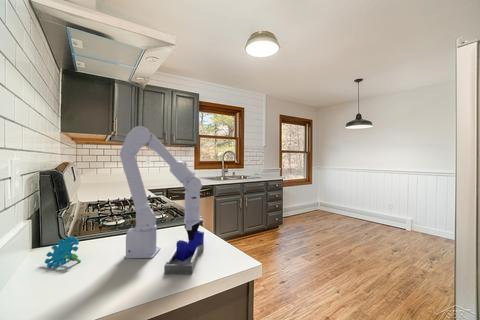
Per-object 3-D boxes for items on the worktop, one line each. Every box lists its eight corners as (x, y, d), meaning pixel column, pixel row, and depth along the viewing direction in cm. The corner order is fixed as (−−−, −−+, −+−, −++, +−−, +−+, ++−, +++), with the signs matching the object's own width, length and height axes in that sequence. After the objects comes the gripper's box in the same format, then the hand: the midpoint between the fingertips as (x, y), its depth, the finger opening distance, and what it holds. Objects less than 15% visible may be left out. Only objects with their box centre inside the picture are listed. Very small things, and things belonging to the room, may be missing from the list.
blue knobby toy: (36, 260, 69) (64, 231, 75) (51, 267, 73) (76, 239, 79) (56, 273, 65) (84, 241, 71) (71, 279, 69) (96, 249, 75)
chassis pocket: (160, 274, 65) (160, 264, 65) (176, 249, 82) (176, 241, 82) (195, 274, 65) (195, 264, 65) (203, 249, 83) (203, 242, 83)
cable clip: (193, 245, 86) (193, 229, 86) (203, 247, 84) (204, 232, 84) (172, 258, 75) (173, 240, 74) (183, 261, 73) (184, 243, 73)
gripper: (200, 212, 79) (199, 250, 79) (205, 203, 93) (205, 235, 94) (179, 212, 79) (179, 250, 79) (188, 203, 93) (188, 236, 93)
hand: (192, 242), depth 86 cm, fingers closed, pressing on cable clip
